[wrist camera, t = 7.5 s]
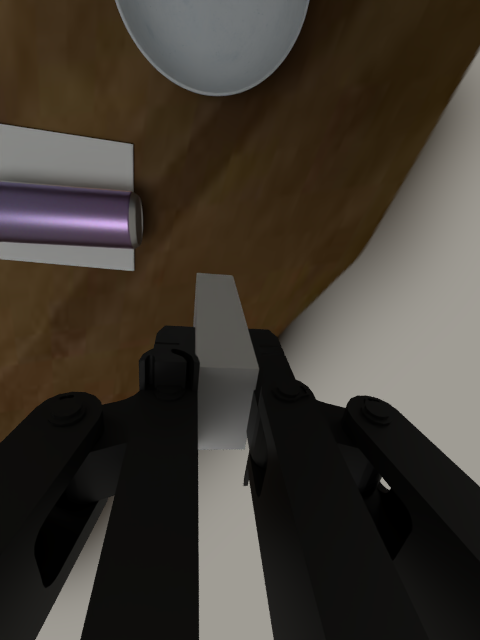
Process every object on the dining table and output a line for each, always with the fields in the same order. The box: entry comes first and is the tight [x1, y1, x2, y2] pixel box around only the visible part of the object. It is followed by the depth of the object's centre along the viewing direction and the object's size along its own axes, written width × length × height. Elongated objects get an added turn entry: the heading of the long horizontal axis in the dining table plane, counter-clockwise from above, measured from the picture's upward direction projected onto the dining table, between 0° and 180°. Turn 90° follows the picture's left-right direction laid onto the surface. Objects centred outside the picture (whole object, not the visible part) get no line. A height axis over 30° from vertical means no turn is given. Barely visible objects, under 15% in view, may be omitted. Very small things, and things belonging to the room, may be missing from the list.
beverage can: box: [0, 180, 143, 249], centre depth 34 cm, size 6×6×15 cm
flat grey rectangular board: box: [0, 124, 134, 271], centre depth 36 cm, size 14×17×1 cm
